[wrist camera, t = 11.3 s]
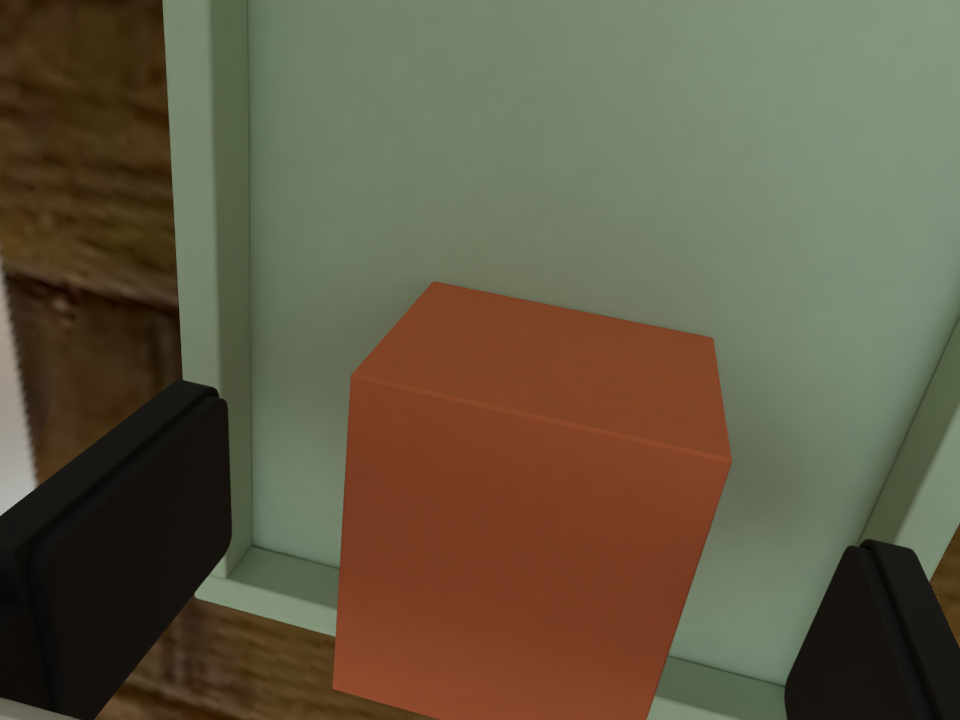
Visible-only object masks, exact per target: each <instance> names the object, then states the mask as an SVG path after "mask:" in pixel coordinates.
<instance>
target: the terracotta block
mask: <svg viewBox="0 0 960 720" xmlns="http://www.w3.org/2000/svg"><path fill="white" fill-rule="evenodd" d="M731 464H732V457H731V450H730V444H729V437H728V431H727V424H726V418H725V411H724V405H723V398H722V392H721V385H720V379H719V372H718V366H717V359H716V353H715V346H714V340H713V338H711V337H707V336H702V335H697V334H692V333H687V332H682V331H677V330H672V329H667V328H662V327H657V326H652V325H647V324H642V323H637V322H633V321H628V320H623V319H618V318H613V317H608V316H603V315H598V314H593V313H588V312H583V311H578V310H573V309H568V308H563V307H558V306H553V305H548V304H543V303H539V302H534V301H529V300H524V299H519V298H514V297H509V296H504V295H499V294H494V293H489V292H484V291H479V290H474V289H469V288H464V287H459V286H454V285H450V284H445V283H440V282H432V283H431V284H430V285H429V287H428V288H427V289H426V290H425V291H424V292H423V293H422V295H421V296H420V297H419V298H418V299H417V300H416V301H415V303H414V304H413V305H412V306H411V307H410V308H409V309H408V311H407V312H406V313H405V314H404V315H403V316H402V317H401V319H400V320H399V321H398V322H397V323H396V324H395V325H394V327H393V328H392V329H391V330H390V331H389V332H388V333H387V334H386V336H385V337H384V338H383V339H382V340H381V341H380V342H379V344H378V345H377V346H376V347H375V348H374V349H373V350H372V352H371V353H370V354H369V355H368V356H367V357H366V358H365V360H364V361H363V362H362V363H361V364H360V365H359V366H358V368H357V369H356V370H355V371H354V372H353V373H352V375H351V380H350V397H349V414H348V431H347V449H346V466H345V483H344V500H343V518H342V535H341V552H340V569H339V586H338V604H337V621H336V638H335V655H334V672H333V688H334V689H335V690H338V691H342V692H345V693H349V694H352V695H356V696H359V697H363V698H366V699H370V700H373V701H377V702H380V703H383V704H387V705H390V706H394V707H397V708H401V709H404V710H408V711H411V712H415V713H418V714H421V715H425V716H428V717H432V718H435V719H439V720H647V717H648V714H649V711H650V708H651V705H652V702H653V699H654V696H655V693H656V690H657V687H658V684H659V681H660V678H661V675H662V672H663V669H664V666H665V663H666V660H667V657H668V654H669V651H670V648H671V645H672V642H673V639H674V636H675V633H676V630H677V627H678V624H679V621H680V618H681V615H682V612H683V609H684V606H685V603H686V600H687V597H688V594H689V591H690V588H691V585H692V582H693V579H694V576H695V573H696V570H697V567H698V564H699V561H700V558H701V555H702V552H703V549H704V546H705V543H706V540H707V537H708V534H709V531H710V528H711V525H712V522H713V519H714V516H715V512H716V509H717V506H718V503H719V500H720V497H721V494H722V491H723V488H724V485H725V482H726V479H727V476H728V473H729V470H730V467H731Z"/></svg>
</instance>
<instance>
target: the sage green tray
mask: <svg viewBox="0 0 960 720" xmlns="http://www.w3.org/2000/svg"><path fill="white" fill-rule="evenodd" d="M163 18H164V36H165V55H166V73H167V92H168V110H169V129H170V147H171V166H172V184H173V203H174V221H175V239H176V258H177V276H178V295H179V313H180V332H181V350H182V369H183V380H185V381H190V382H194V383H198V384H202V385H207V386H211V387H214V388H216V389H217V391H218V393H219V397H220V398H222V399H224V400H226V402H227V405H228V422H229V451H230V481H231V510H232V538H231V542H230V545H229V548H228V550H227V552H226V554H225V555H224V557H223V558H222V559H221V561H220V562H219V563H218V564H217V566H216V567H215V568H214V569H213V571H212V572H211V573H210V574H209V576H208V577H207V578H206V579H205V581H204V582H203V583H202V584H201V586H200V587H199V588H198V589H197V591H196V592H195V597H196V598H198V599H202V600H205V601H209V602H212V603H216V604H219V605H223V606H227V607H230V608H234V609H237V610H241V611H245V612H248V613H252V614H255V615H259V616H263V617H266V618H270V619H273V620H277V621H280V622H284V623H288V624H291V625H295V626H298V627H302V628H306V629H309V630H313V631H316V632H320V633H324V634H327V635H331V636H334V637H336V621H337V604H338V586H339V569H340V552H341V535H342V518H343V500H344V483H345V466H346V449H347V431H348V414H349V397H350V380H351V375H352V373H353V372H354V371H355V370H356V369H357V368H358V366H359V365H360V364H361V363H362V362H363V361H364V360H365V358H366V357H367V356H368V355H369V354H370V353H371V352H372V350H373V349H374V348H375V347H376V346H377V345H378V344H379V342H380V341H381V340H382V339H383V338H384V337H385V336H386V334H387V333H388V332H389V331H390V330H391V329H392V328H393V327H394V325H395V324H396V323H397V322H398V321H399V320H400V319H401V317H402V316H403V315H404V314H405V313H406V312H407V311H408V309H409V308H410V307H411V306H412V305H413V304H414V303H415V301H416V300H417V299H418V298H419V297H420V296H421V295H422V293H423V292H424V291H425V290H426V289H427V288H428V287H429V285H430V284H431V283H432V282H440V283H445V284H450V285H454V286H459V287H464V288H469V289H474V290H479V291H484V292H489V293H494V294H499V295H504V296H509V297H514V298H519V299H524V300H529V301H534V302H539V303H543V304H548V305H553V306H558V307H563V308H568V309H573V310H578V311H583V312H588V313H593V314H598V315H603V316H608V317H613V318H618V319H623V320H628V321H633V322H637V323H642V324H647V325H652V326H657V327H662V328H667V329H672V330H677V331H682V332H687V333H692V334H697V335H702V336H707V337H711V338H713V340H714V346H715V353H716V359H717V366H718V372H719V379H720V385H721V392H722V398H723V405H724V411H725V418H726V424H727V431H728V437H729V444H730V450H731V457H732V464H731V467H730V470H729V473H728V476H727V479H726V482H725V485H724V488H723V491H722V494H721V497H720V500H719V503H718V506H717V509H716V512H715V516H714V519H713V522H712V525H711V528H710V531H709V534H708V537H707V540H706V543H705V546H704V549H703V552H702V555H701V558H700V561H699V564H698V567H697V570H696V573H695V576H694V579H693V582H692V585H691V588H690V591H689V594H688V597H687V600H686V603H685V606H684V609H683V612H682V615H681V618H680V621H679V624H678V627H677V630H676V633H675V636H674V639H673V642H672V645H671V648H670V651H669V654H668V657H667V660H666V663H665V666H664V669H663V672H662V675H661V678H660V681H659V684H658V687H657V690H656V693H655V696H654V699H653V702H652V705H651V708H650V711H649V714H648V717H647V720H787V716H786V710H785V703H784V692H785V685H786V680H787V678H788V675H789V673H790V670H791V668H792V666H793V664H794V662H795V659H796V657H797V655H798V653H799V650H800V648H801V646H802V644H803V642H804V639H805V637H806V635H807V633H808V630H809V628H810V626H811V624H812V622H813V619H814V617H815V615H816V613H817V610H818V608H819V606H820V604H821V601H822V599H823V597H824V595H825V593H826V590H827V588H828V586H829V584H830V581H831V579H832V577H833V575H834V573H835V570H836V568H837V566H838V564H839V561H840V559H841V557H842V555H843V553H844V551H845V549H846V548H847V547H848V546H851V545H852V546H856V547H859V546H860V544H861V543H862V542H863V541H864V540H865V539H872V540H877V541H881V542H885V543H890V544H894V545H898V546H903V547H907V548H910V549H912V550H914V552H915V553H916V555H917V557H918V559H919V561H920V563H921V566H922V568H923V570H924V572H925V574H926V576H927V579H928V581H930V579H931V577H932V576H933V574H934V572H935V570H936V568H937V566H938V564H939V562H940V560H941V558H942V556H943V554H944V552H945V550H946V548H947V546H948V544H949V543H950V541H951V539H952V537H953V535H954V533H955V531H956V529H957V527H958V525H959V523H960V0H163Z"/></svg>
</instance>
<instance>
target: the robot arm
mask: <svg viewBox="0 0 960 720" xmlns="http://www.w3.org/2000/svg"><path fill="white" fill-rule="evenodd" d="M231 538H232V510H231V481H230V451H229V422H228V405H227V402H226V400H224V399H222V398H220V397H219V393H218V391H217V389H216V388H214V387H211V386H207V385H202V384H198V383H194V382H190V381H185V380H177V381H175V382H173V383H172V384H171V385H169V386H168V387H167V388H165V389H164V390H163V391H161V392H160V393H159V394H158V395H156V396H155V397H154V398H152V399H151V400H150V401H149V402H147V403H146V404H145V405H143V406H142V407H141V408H139V409H138V410H137V411H136V412H134V413H133V414H132V415H130V416H129V417H128V418H127V419H125V420H124V421H123V422H121V423H120V424H119V425H117V426H116V427H115V428H114V429H112V430H111V431H110V432H108V433H107V434H106V435H105V436H103V437H102V438H101V439H99V440H98V441H97V442H95V443H94V444H93V445H92V446H90V447H89V448H88V449H86V450H85V451H84V452H82V453H81V454H80V455H79V456H77V457H76V458H75V459H73V460H72V461H71V462H70V463H68V464H67V465H66V466H64V467H63V468H62V469H60V470H59V471H58V472H57V473H55V474H54V475H53V476H51V477H50V478H49V479H48V480H46V481H45V482H44V483H42V484H41V485H40V486H38V487H37V488H36V489H35V490H33V491H32V492H31V493H29V494H28V495H27V496H26V497H24V498H23V499H22V500H20V501H19V502H18V503H16V504H15V505H14V506H13V507H11V508H10V509H9V510H7V511H6V512H5V513H4V514H2V515H1V516H0V720H94V719H95V718H96V716H97V715H98V714H99V712H100V711H101V710H102V709H103V707H104V706H105V705H106V704H107V702H108V701H109V700H110V699H111V697H112V696H113V695H114V694H115V692H116V691H117V690H118V689H119V687H120V686H121V685H122V684H123V682H124V681H125V680H126V679H127V677H128V676H129V675H130V674H131V672H132V671H133V670H134V669H135V667H136V666H137V665H138V663H139V662H140V661H141V660H142V658H143V657H144V656H145V655H146V653H147V652H148V651H149V650H150V648H151V647H152V646H153V645H154V643H155V642H156V641H157V640H158V638H159V637H160V636H161V635H162V633H163V632H164V631H165V630H166V628H167V627H168V626H169V625H170V623H171V622H172V621H173V620H174V618H175V617H176V616H177V615H178V613H179V612H180V611H181V609H182V608H183V607H184V606H185V604H186V603H187V602H188V601H189V599H190V598H191V597H192V596H193V594H194V593H195V592H196V591H197V589H198V588H199V587H200V586H201V584H202V583H203V582H204V581H205V579H206V578H207V577H208V576H209V574H210V573H211V572H212V571H213V569H214V568H215V567H216V566H217V564H218V563H219V562H220V561H221V559H222V558H223V557H224V555H225V554H226V552H227V550H228V548H229V545H230V542H231ZM784 703H785V710H786V716H787V720H960V649H959V646H958V644H957V642H956V640H955V638H954V635H953V633H952V631H951V629H950V627H949V625H948V622H947V620H946V618H945V616H944V614H943V611H942V609H941V607H940V605H939V603H938V600H937V598H936V596H935V594H934V592H933V590H932V587H931V585H930V583H929V581H928V579H927V576H926V574H925V572H924V570H923V568H922V566H921V563H920V561H919V559H918V557H917V555H916V553H915V552H914V550H912V549H910V548H907V547H903V546H898V545H894V544H890V543H885V542H881V541H877V540H872V539H865V540H864V541H863V542H862V543H861V544H860V546H859V547H856V546H852V545H851V546H848V547H847V548H846V549H845V551H844V553H843V555H842V557H841V559H840V561H839V564H838V566H837V568H836V570H835V573H834V575H833V577H832V579H831V581H830V584H829V586H828V588H827V590H826V593H825V595H824V597H823V599H822V601H821V604H820V606H819V608H818V610H817V613H816V615H815V617H814V619H813V622H812V624H811V626H810V628H809V630H808V633H807V635H806V637H805V639H804V642H803V644H802V646H801V648H800V650H799V653H798V655H797V657H796V659H795V662H794V664H793V666H792V668H791V670H790V673H789V675H788V678H787V680H786V685H785V692H784Z"/></svg>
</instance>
